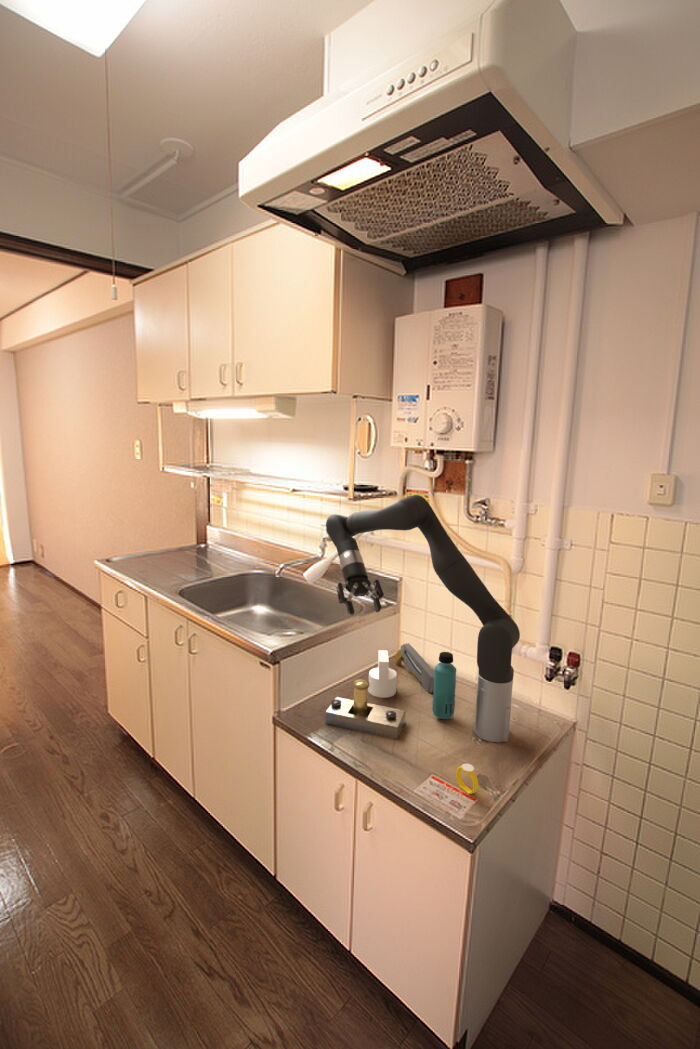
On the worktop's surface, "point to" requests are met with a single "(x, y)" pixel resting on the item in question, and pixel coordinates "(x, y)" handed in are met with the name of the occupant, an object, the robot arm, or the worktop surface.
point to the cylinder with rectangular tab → (382, 677)
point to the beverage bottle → (444, 687)
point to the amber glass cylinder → (360, 697)
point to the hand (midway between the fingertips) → (365, 612)
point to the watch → (470, 770)
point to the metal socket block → (377, 722)
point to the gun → (416, 666)
